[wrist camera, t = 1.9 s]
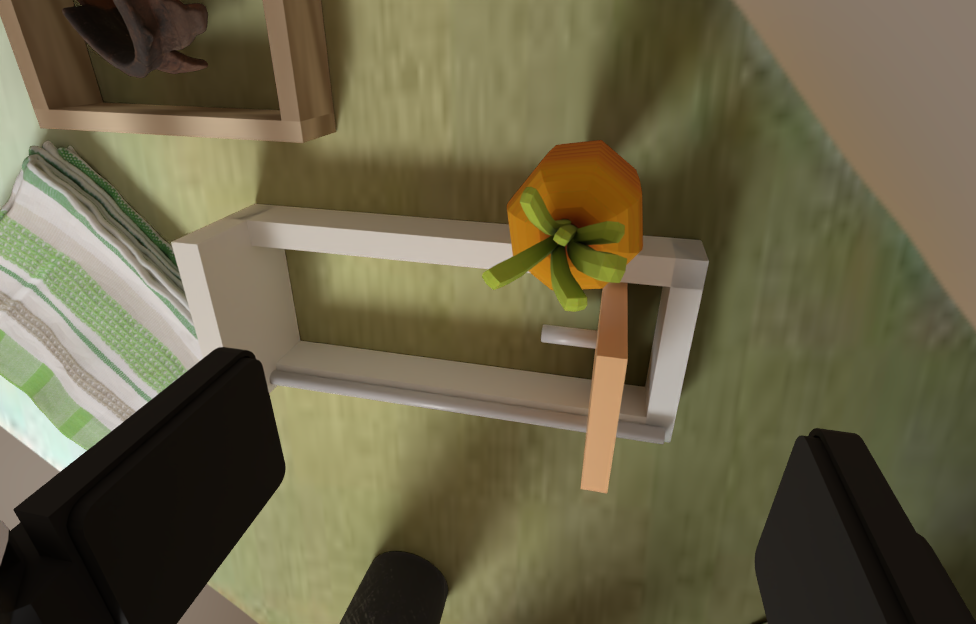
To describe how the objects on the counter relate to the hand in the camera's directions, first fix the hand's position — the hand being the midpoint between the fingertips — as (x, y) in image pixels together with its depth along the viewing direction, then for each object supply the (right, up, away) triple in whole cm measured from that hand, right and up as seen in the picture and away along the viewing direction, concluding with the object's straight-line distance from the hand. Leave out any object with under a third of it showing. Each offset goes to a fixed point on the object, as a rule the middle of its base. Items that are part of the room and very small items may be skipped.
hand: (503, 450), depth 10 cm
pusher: (+5, +2, +22) cm, 22 cm away
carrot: (+5, +10, +18) cm, 21 cm away
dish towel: (-30, +2, +32) cm, 44 cm away
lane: (-2, +3, +23) cm, 24 cm away
